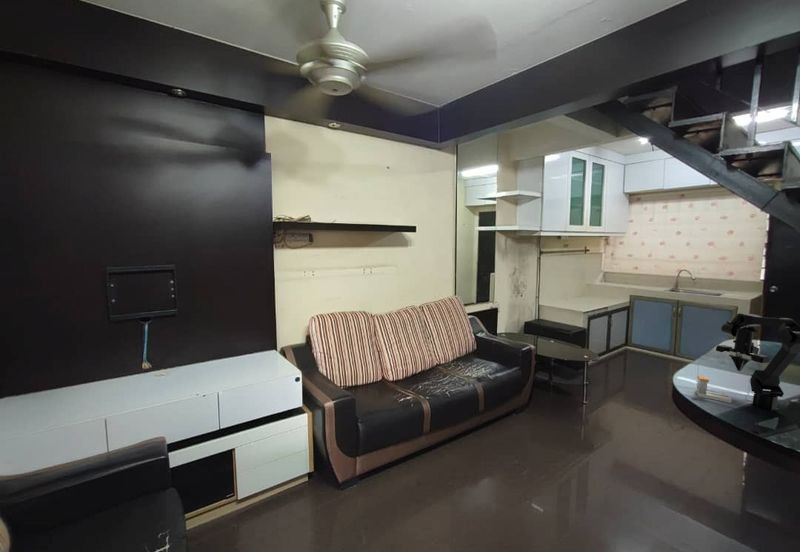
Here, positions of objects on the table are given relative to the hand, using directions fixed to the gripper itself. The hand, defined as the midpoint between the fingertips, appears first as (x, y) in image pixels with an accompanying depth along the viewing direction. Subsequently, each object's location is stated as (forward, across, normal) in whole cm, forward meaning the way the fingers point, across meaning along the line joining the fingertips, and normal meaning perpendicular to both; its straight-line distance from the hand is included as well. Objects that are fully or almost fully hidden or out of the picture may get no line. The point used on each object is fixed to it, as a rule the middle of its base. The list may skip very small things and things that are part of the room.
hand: (739, 370), depth 169 cm
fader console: (+11, -2, +18) cm, 21 cm away
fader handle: (+9, +2, +22) cm, 24 cm away
